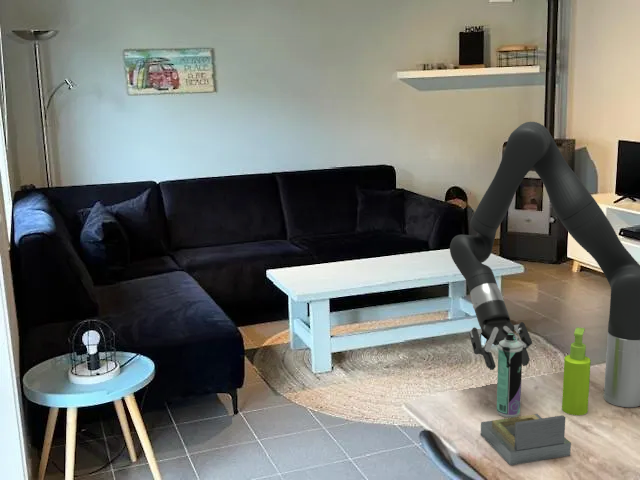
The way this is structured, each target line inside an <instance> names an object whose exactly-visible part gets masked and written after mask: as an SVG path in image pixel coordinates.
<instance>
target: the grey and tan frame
mask: <svg viewBox="0 0 640 480" xmlns="http://www.w3.org/2000/svg"><path fill="white" fill-rule="evenodd" d="M565 430H566V416H565V415H555V416H548V417H544V418H543V417H541V416H540V415H539V414H538V413H534V414H528V415H521V416H520V415H519V416H517V417H513V418H508V417H505V418H500V419H494V420H493V419H492V420H487V421H481V422H480V436H482V438H483V439H484V440H485V441H486V442H487V443H488V444H489V445H491V447H492V448H493V449H494V450H495V451H496V452H497V453H498V454H499V455H500V456H501V457H502V459H503V460H505V461H506V463H507V464H509V466H515V465H522V464H526V463H532V462H539V461H545V460H551V459H552V460H553V459H558V458H564V457H570V456H571V449H572V447H571V446H572V442H571V441H570V440H568V439H567V438H566V437H565V436H566V435H565V434H566V431H565Z"/></svg>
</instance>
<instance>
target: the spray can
mask: <svg viewBox="0 0 640 480" xmlns="http://www.w3.org/2000/svg"><path fill="white" fill-rule="evenodd" d="M497 346H498V350H497V351H498V352H497V354H498V355H497V384H496V386H497V387H496V388H497V389H496V390H497V391H496V413H497V415H499V416H501V417H504V418H513V417H519V416H520V415H521V402H522V401H521V398H522V397H521V396H522V394H521V393H522V373H523V372H522V370H523V368H522V367H523V365H522V348H523V347H522V343H521V342H519V341H517V339H516V338H515V335H514V332H513V333H509V334H507V337H506V338H505V339H504V340H502V341H500V342H499V345H497Z"/></svg>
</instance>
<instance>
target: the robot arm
mask: <svg viewBox="0 0 640 480" xmlns="http://www.w3.org/2000/svg"><path fill="white" fill-rule="evenodd" d="M532 169H533V170H534V171H535V173H536V174H537V176H538V177H539V178H540V180H541V182H542V184H543V186H544V188H545V190H546V193H547V196H548V199H549V201H550V204H551V207H552V209H553V211H554V213H555V215H556V217H558V220H560V222H561V224H562V226H563V227H564V228H565V230H566V231H567V232H568V233H569V235H570V236H571V237H572V238H573V240H574V241H575V242H577V244H578V245H579V246H580V247H582V249H583V250H585V251H586V252H587V253H588V254H589V255H590V256H591V257H592V258H593V260H594V261H595V262H596V263H597V265H598V267H599V268H600V269H601V272H602V273H603V275H604V277H605V279H606V281H607V282H608V284H609V287H610V301H609V302H610V303H609V314H608V324H607V339H606V340H607V341H606V342H607V343H606V355H605V356H606V357H605V369H604V383H603V398H604V400H605V401H606V402H607V403H609V404H612V405H614V406H617V407H618V406H619V407H623V408H637V407H640V264H639V262H638V261H637V260H636V259H635V258H634V256H632V255H631V253H630V252H629V251H628V250H627V248H626V247H625V246H624V244H623V243H622V242H621V240H620V238H619V236H618V234H617V233H616V231H615V229H614V228H613V226H612V224H611V222H610V220H609V218H608V217H607V215H606V214H605V212H604V211H603V209H602V208H601V207H600V205H599V204H598V202H597V201H596V199H595V198H594V197H593V195H592V194H591V193H590V192H589V190H588V189H587V188H586V186H585V185H584V183H583V182H582V181H581V179H580V178H579V177H578V175H577V174H576V173H575V172H574V171H573V170H572V168H571V167H570V166H569V164H568V163H567V161H566V160H565V158H564V156H563V154H562V152H561V151H560V149H559V147H558V146H557V143H556V141H555V140H554V138H553V136H552V135H551V132H550V131H549V130H548V128H546V126H545V125H543V124H542V123H540V122H537V121H526V122H524V123H522V124H520V125H519V126H518V127H516V128H515V129H514V130H513V131H511V133H510V134H509V136H508V139H507V142H506V144H505V148H504V151H503V155H502V158H501V161H500V163H499V166H498V168H497V170H496V173H495V175H494V177H493V179H492V180H491V183H490V184H489V186H488V188H487V189H486V191H485V192H484V195H483V197H482V198H481V200H480V202H479V203H478V205H477V206H476V209H475V210H474V213H473V215H472V216H471V218H470V222H469V223H470V227H471V228H472V230H473V231H475V232H476V233H477V234H476V235H469V234H457V235H455V236H454V237H453V238H452V239H451V242H450V244H449V254H450V258H451V259H452V262H453V263H454V264H455V266H456V267H457V269H458V271H459V272H460V274H461V275H462V277H463V278H464V279H465V282H466V284H467V288H468V291H469V295H470V300H471V303H472V308H473V309H474V313H475V316H476V319H477V322H478V325H479V327H480V328H477V327H475V326H474V327H472V329H471V330H470V332H469V338H470V341H471V342H470V343H471V346H472V350H473V353H474V354H475V355H480V356H481V355H482V357H483V359H484V362H485V366H486V367H487V368H488V369H489V371H494V370H495V369H496V362H495V360H494V357H493V354H492V351H491V349H492V346H499V342H500V341H502V340H504V339H505V338H506V337H507V334H509V333H514V332H516V333H514V335H515V338H516V339H517V341H519V342H521V343H522V347H523V348H522V367H527V366H528V365H529V362H530V360H531V359H530V356H529V353H528V350H527V349H529V347H530V346H531V345H532V344H533V341H532V338H531V336H530V334H529V332H528V330H527V327H526V324H525V323H524V322H523V321H521V322H519V324H513V323H512V321H511V318H510V314H509V312H508V307H507V306H506V303H505V300H504V298H503V294H502V292H501V289H500V288H499V287H498V283H497V280H496V277H495V274H494V272H493V269H492V268H491V267H490V266H489V265H487V264H485V263H484V262H486V261H487V260H488V259H489V258H490V256H491V254H492V250H493V247H494V243H495V239H496V234H497V231H498V228H499V227H500V225H501V223H502V222H503V220H504V218H505V217H506V215H507V213H508V210H510V209H509V208H510V206H511V204H512V202H513V199H514V197H515V195H516V193H517V190H518V188H519V186H520V185H521V183H522V182H523V180H524V179H525V177H526V176H527V174H528V173H529V172H530V171H531V170H532ZM481 336H482V337H483V338H485V343H484V345H483V347H482V343H481V339H480V337H481ZM490 351H491V352H490Z"/></svg>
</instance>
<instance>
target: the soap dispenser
mask: <svg viewBox="0 0 640 480" xmlns="http://www.w3.org/2000/svg"><path fill="white" fill-rule="evenodd" d="M585 329H586V328H585V327H578V326H577V327H575V330H574V333H573V336H574V342H572V343H571V344H570V350H569V351H570V352H569V354H566V355H565V356H564V357H563V358H564V359H563V375H562V376H563V379H562V380H563V382H562V396H561V397H562V398H561V399H562V400H561V410H562V412H564V413H565V414H567V415H571V416H584V415H586V414H587V413H588V410H589V393H590V375H591V363H592V362H591V361H592V360H591V358H590V357H589V356H586V352H587V346H586V344H585V343H583V337H584V333H585V332H586V331H585Z"/></svg>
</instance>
